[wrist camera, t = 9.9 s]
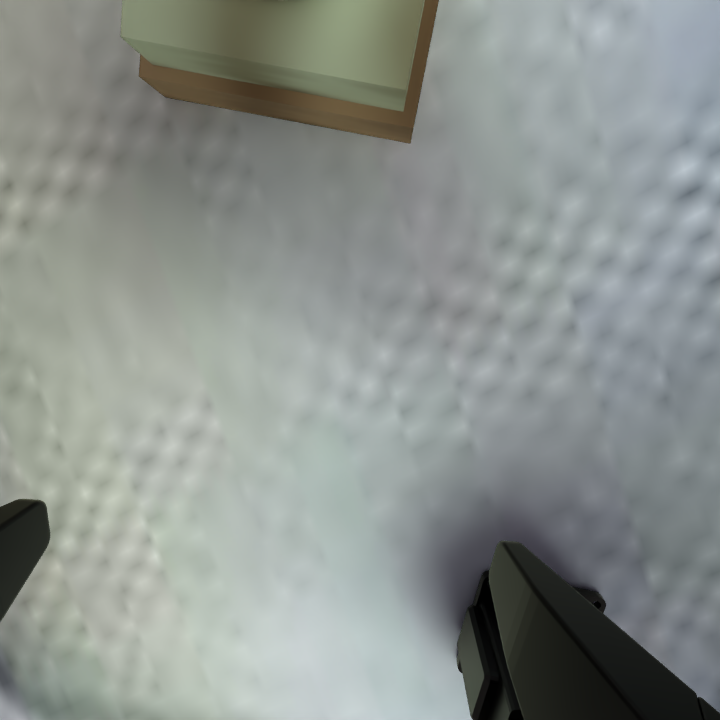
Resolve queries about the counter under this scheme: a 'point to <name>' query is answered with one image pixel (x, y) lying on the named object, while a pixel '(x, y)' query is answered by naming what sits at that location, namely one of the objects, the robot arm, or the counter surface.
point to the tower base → (289, 58)
